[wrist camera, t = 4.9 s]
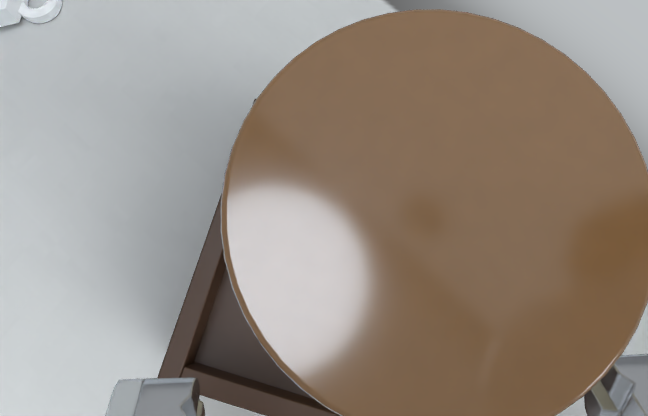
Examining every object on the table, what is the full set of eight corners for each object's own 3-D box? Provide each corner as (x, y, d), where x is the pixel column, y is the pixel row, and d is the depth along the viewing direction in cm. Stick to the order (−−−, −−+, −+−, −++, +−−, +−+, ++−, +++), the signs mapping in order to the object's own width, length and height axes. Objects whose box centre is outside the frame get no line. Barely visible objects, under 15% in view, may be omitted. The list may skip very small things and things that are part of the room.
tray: (490, 202, 27) (528, 180, 22) (430, 446, 24) (458, 476, 20) (262, 132, 27) (254, 97, 22) (181, 368, 25) (155, 381, 20)
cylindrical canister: (432, 232, 24) (693, 75, 8) (396, 370, 22) (615, 508, 7) (299, 192, 24) (297, -44, 8) (256, 327, 23) (154, 364, 7)
